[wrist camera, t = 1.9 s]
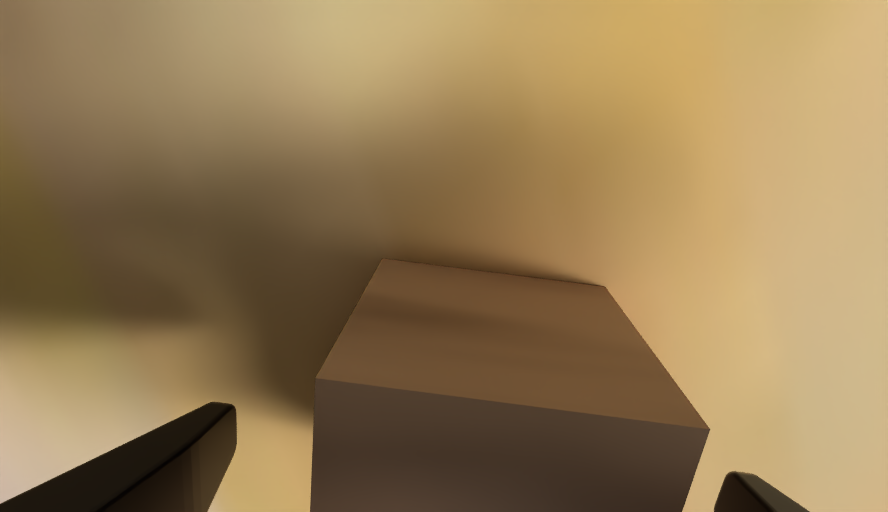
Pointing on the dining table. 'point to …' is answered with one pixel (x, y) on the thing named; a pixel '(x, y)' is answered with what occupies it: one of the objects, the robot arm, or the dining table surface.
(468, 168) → the dining table surface
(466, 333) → the walnut block
